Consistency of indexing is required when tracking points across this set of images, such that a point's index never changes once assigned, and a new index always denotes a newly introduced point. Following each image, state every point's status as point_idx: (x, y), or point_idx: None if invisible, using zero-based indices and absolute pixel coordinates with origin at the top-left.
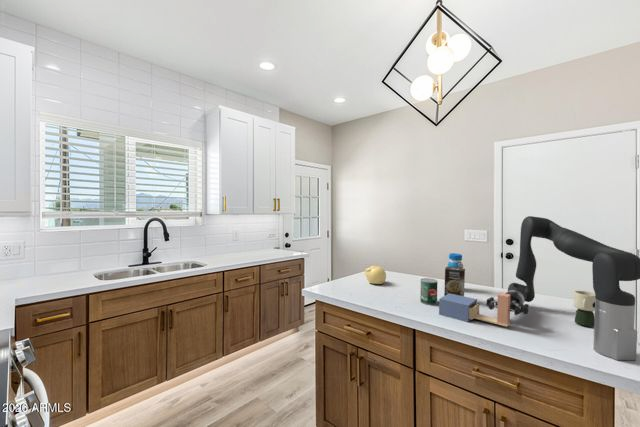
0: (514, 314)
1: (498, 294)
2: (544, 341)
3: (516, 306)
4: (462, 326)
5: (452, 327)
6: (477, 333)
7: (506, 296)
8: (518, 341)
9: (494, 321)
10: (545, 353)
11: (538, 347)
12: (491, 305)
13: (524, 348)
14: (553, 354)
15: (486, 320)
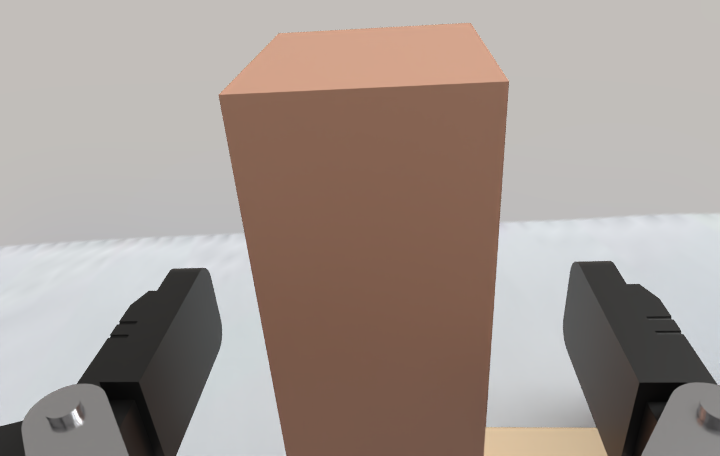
0: (220, 326)
1: (474, 33)
2: (4, 414)
3: (125, 450)
4: (671, 287)
5: (692, 240)
6: (508, 256)
7: (306, 35)
8: (234, 301)
9: (493, 446)
10: (96, 259)
11: (111, 298)
12: (575, 268)
13: (207, 248)
14: (49, 271)
15: (588, 430)
